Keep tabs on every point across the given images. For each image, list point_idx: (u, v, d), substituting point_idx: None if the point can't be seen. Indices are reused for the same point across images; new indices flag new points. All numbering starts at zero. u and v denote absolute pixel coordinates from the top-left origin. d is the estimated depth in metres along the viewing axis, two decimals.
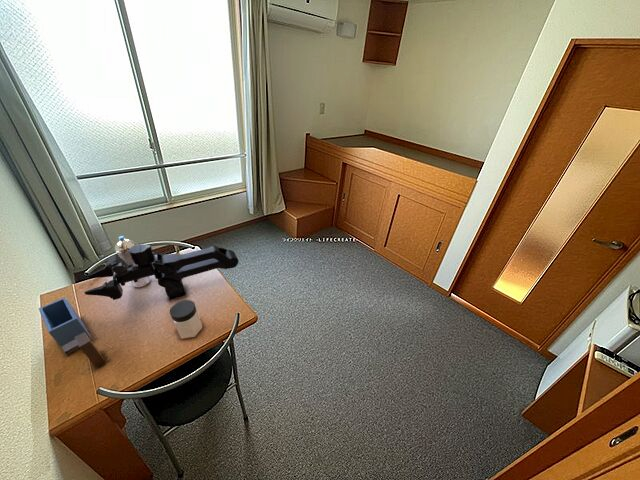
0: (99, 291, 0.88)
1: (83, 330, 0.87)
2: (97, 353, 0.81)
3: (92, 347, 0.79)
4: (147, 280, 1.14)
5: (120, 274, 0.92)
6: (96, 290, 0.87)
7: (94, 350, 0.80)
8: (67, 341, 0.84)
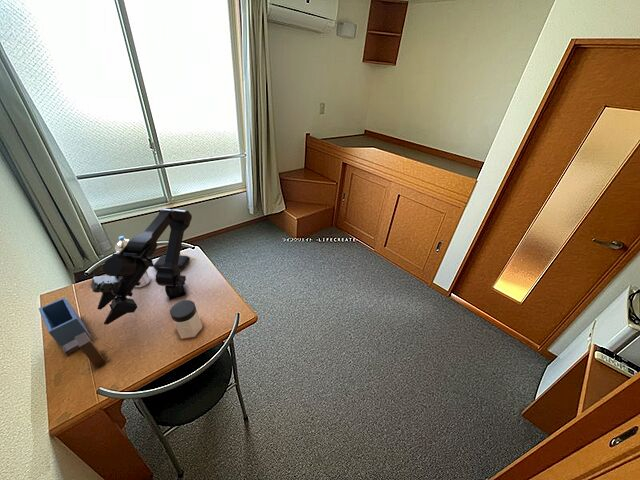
0: (114, 314, 0.80)
1: (83, 330, 0.87)
2: (97, 353, 0.81)
3: (92, 347, 0.79)
4: (147, 280, 1.14)
5: (116, 289, 0.80)
6: (110, 316, 0.79)
7: (94, 350, 0.80)
8: (67, 341, 0.84)
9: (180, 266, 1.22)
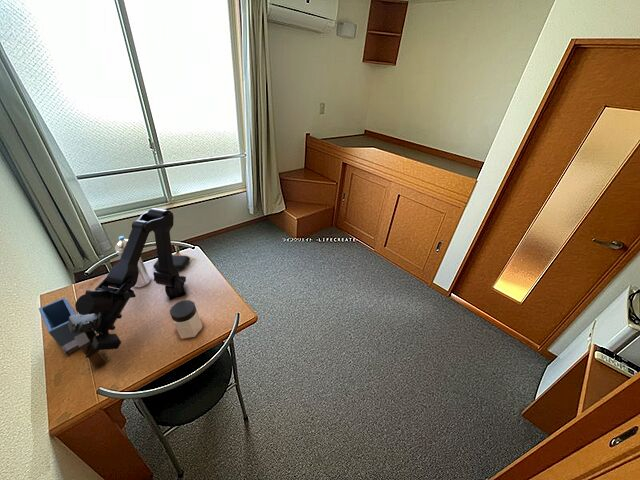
0: (95, 348, 0.79)
1: None
2: (97, 353, 0.81)
3: None
4: (147, 280, 1.14)
5: (96, 326, 0.77)
6: (91, 350, 0.78)
7: None
8: (67, 341, 0.84)
9: (180, 266, 1.22)
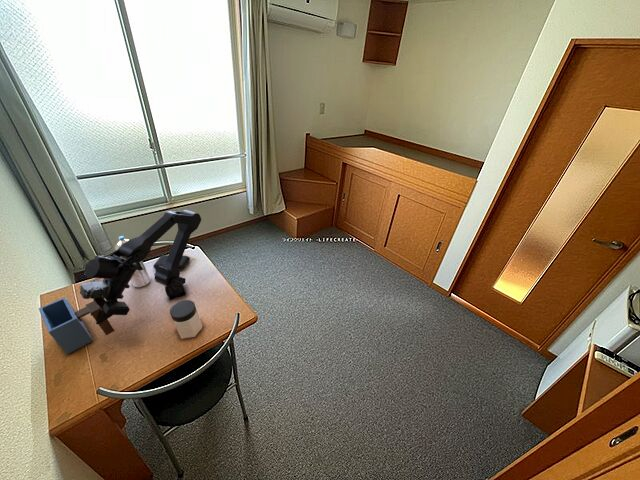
0: (105, 314, 0.84)
1: (83, 330, 0.87)
2: (107, 320, 0.86)
3: None
4: (147, 280, 1.14)
5: (106, 294, 0.82)
6: (102, 316, 0.83)
7: None
8: (67, 341, 0.84)
9: (180, 266, 1.22)
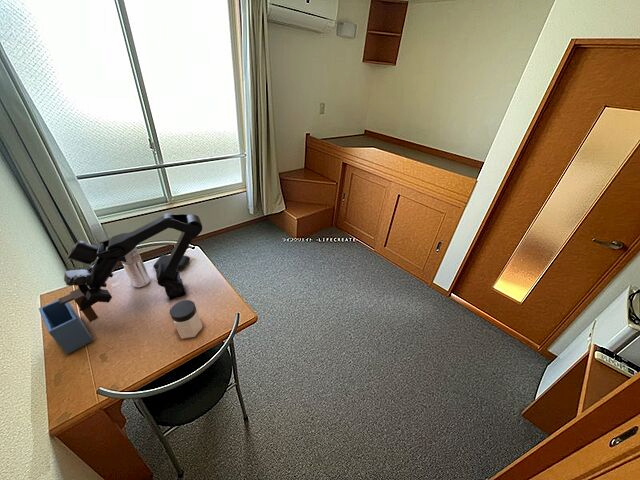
0: (88, 301, 0.87)
1: (83, 330, 0.87)
2: (90, 308, 0.90)
3: None
4: (147, 280, 1.14)
5: (89, 282, 0.86)
6: (85, 303, 0.87)
7: None
8: (67, 341, 0.84)
9: (180, 266, 1.22)
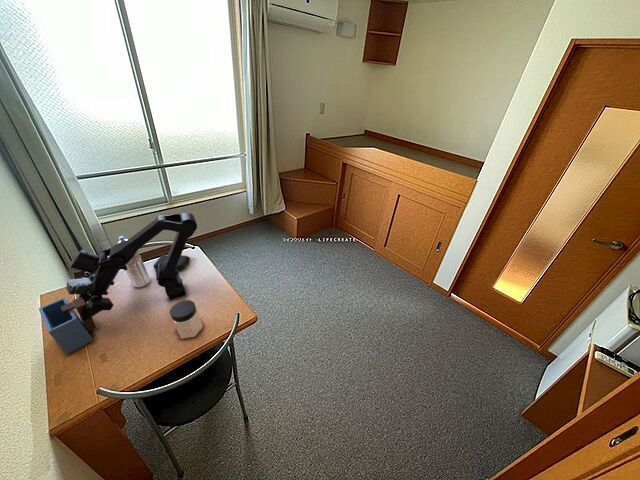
0: (91, 311, 0.88)
1: (83, 330, 0.87)
2: None
3: None
4: (147, 280, 1.14)
5: (91, 290, 0.87)
6: (88, 313, 0.87)
7: None
8: (67, 341, 0.84)
9: (180, 266, 1.22)
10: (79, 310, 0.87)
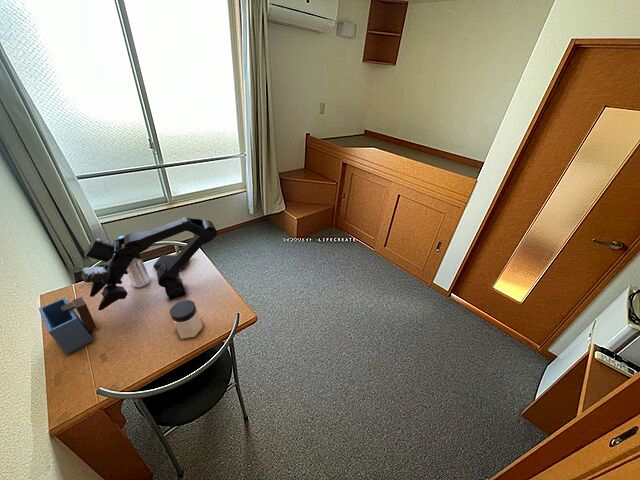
0: (106, 301, 0.88)
1: (83, 330, 0.87)
2: (90, 317, 0.91)
3: (87, 310, 0.89)
4: (147, 280, 1.14)
5: (106, 279, 0.87)
6: (103, 302, 0.87)
7: (88, 313, 0.90)
8: (67, 341, 0.84)
9: None
10: (79, 310, 0.87)
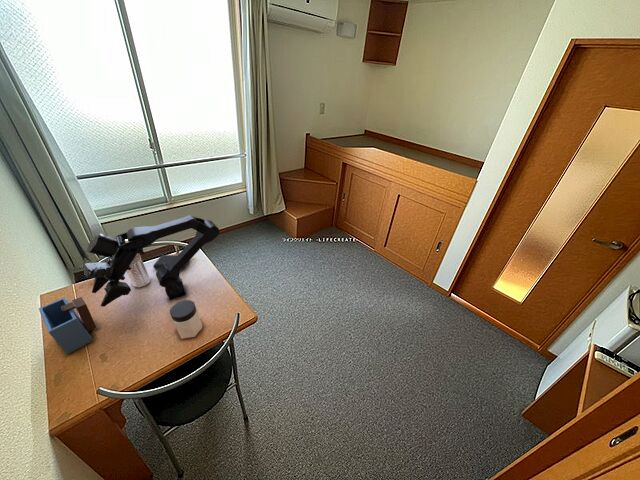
0: (109, 297, 0.86)
1: (83, 330, 0.87)
2: (90, 317, 0.91)
3: (87, 310, 0.89)
4: (147, 280, 1.14)
5: (108, 274, 0.86)
6: (106, 298, 0.86)
7: (88, 313, 0.90)
8: (67, 341, 0.84)
9: None
10: (79, 310, 0.87)
